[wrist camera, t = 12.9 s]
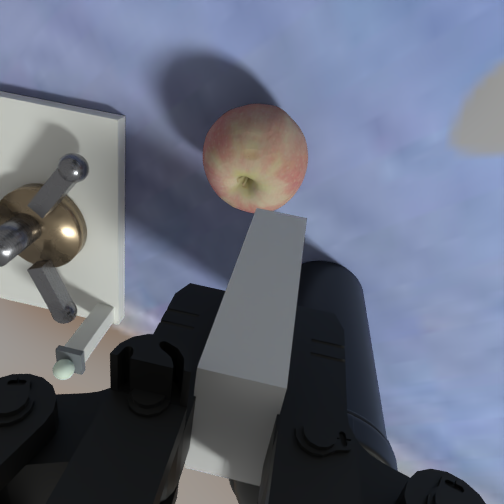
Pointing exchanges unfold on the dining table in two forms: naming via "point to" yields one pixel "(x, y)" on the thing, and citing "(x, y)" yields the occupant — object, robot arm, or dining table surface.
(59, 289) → the capstan
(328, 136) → the dining table surface
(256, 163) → the apple
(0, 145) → the stand base
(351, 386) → the water bottle
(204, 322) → the robot arm
